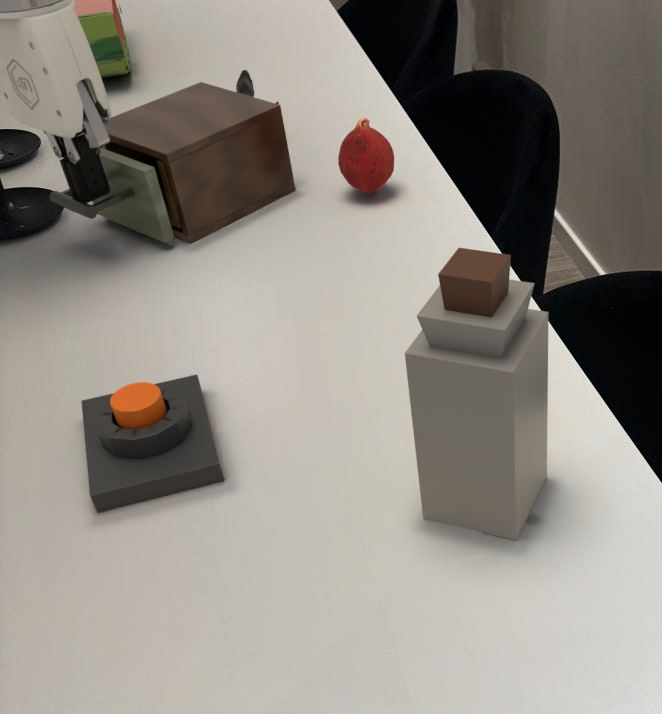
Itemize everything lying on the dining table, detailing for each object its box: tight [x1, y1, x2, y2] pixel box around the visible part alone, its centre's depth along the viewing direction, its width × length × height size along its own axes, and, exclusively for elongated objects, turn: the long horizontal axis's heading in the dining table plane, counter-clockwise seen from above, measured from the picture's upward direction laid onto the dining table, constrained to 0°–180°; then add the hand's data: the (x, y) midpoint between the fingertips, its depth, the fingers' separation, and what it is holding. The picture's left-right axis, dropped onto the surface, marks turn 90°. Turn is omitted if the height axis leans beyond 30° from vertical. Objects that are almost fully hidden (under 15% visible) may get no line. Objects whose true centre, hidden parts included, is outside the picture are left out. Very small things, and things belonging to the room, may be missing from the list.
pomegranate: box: [337, 117, 395, 196], centre depth 101 cm, size 6×6×8 cm
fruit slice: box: [73, 0, 132, 79], centre depth 134 cm, size 26×6×10 cm, turn 18°
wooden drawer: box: [49, 141, 182, 244], centre depth 98 cm, size 19×11×7 cm, turn 142°
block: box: [80, 374, 225, 514], centre depth 72 cm, size 12×9×4 cm
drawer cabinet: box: [100, 81, 297, 244], centre depth 101 cm, size 15×13×9 cm
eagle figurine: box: [235, 69, 280, 105], centre depth 115 cm, size 8×7×9 cm
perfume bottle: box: [404, 247, 549, 541], centre depth 61 cm, size 7×7×18 cm
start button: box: [110, 381, 167, 429], centre depth 70 cm, size 4×4×2 cm
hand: (92, 196), depth 93 cm, fingers closed
